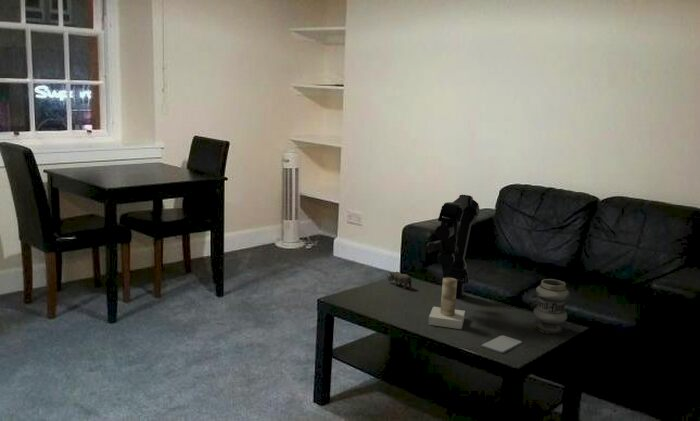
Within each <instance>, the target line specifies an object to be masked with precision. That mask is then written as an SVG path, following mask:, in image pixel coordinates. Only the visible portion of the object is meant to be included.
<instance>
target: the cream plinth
mask: <svg viewBox="0 0 700 421" xmlns="http://www.w3.org/2000/svg"><path fill="white" fill-rule="evenodd" d="M440 310H441V306H440V307H439V306H432V309H431V311H430V312H429V313H430V314H429V315H428V323H427V325H428V326H436V327H442V328H451V329H457V330H462V329H463V325H464V322H465V315H466V311H465V310H463V309H461V310H460V309H455V314H454V315H453V316H444V315H442V314H440Z"/></svg>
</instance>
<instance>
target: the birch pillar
mask: <svg viewBox="0 0 700 421" xmlns="http://www.w3.org/2000/svg"><path fill="white" fill-rule="evenodd" d="M456 289H457V279H454V278H444V277H443V278H442V285H441V299H440V308H441V310H440V314H442V315H444V316H453V315H454V314H455V310H456V301H457V300H456V299H457V298H456Z"/></svg>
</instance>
